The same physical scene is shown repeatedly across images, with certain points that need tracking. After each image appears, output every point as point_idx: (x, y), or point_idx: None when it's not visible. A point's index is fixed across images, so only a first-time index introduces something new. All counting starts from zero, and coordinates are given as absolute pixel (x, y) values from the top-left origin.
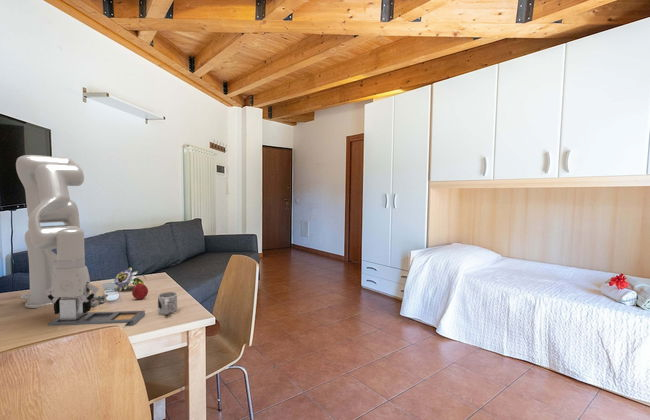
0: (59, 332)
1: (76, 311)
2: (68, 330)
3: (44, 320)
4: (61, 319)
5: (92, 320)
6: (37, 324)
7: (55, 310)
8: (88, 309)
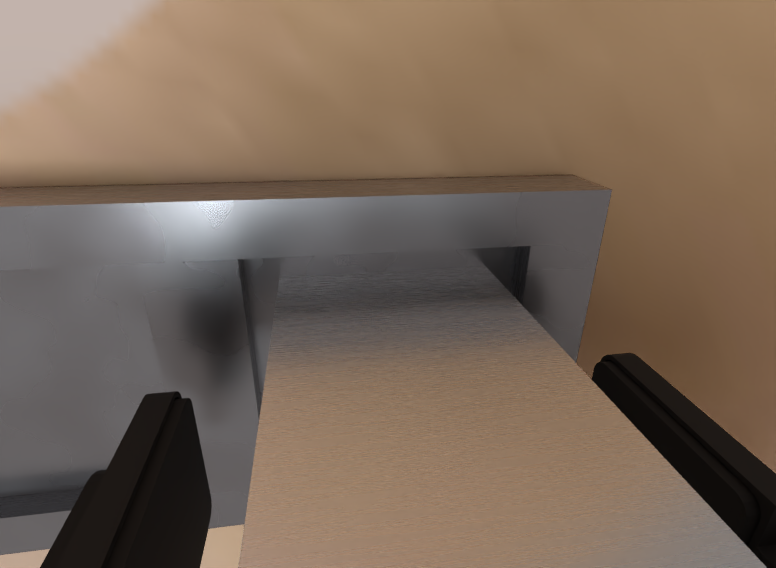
0: (347, 13)
1: (266, 382)
2: (260, 79)
3: (696, 382)
4: (485, 285)
5: (74, 329)
6: (725, 293)
7: (659, 388)
8: (97, 476)
